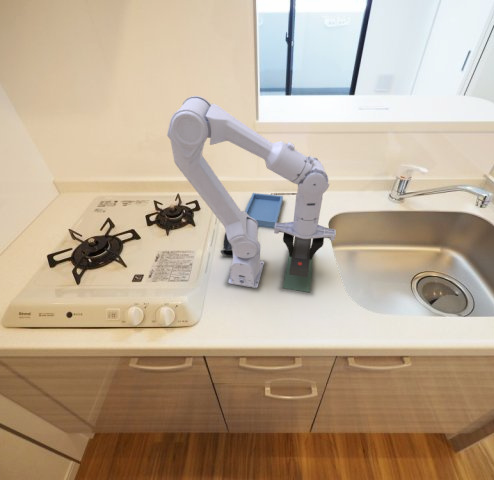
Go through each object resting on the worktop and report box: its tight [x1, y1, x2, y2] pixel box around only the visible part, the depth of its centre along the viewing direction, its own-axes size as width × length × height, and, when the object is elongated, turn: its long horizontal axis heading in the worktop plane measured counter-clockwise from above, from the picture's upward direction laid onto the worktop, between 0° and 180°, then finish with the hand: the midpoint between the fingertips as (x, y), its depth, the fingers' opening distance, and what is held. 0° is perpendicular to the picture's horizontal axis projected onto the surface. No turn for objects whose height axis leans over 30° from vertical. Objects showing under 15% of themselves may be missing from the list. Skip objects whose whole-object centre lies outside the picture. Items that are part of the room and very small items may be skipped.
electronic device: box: [220, 232, 233, 257], centre depth 81 cm, size 9×6×15 cm
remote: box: [289, 236, 312, 277], centre depth 68 cm, size 13×4×3 cm, turn 168°
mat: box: [282, 255, 314, 293], centre depth 72 cm, size 14×7×1 cm, turn 168°
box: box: [244, 192, 284, 229], centre depth 93 cm, size 17×12×2 cm
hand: (300, 255), depth 68 cm, fingers closed on remote, 4 cm apart
